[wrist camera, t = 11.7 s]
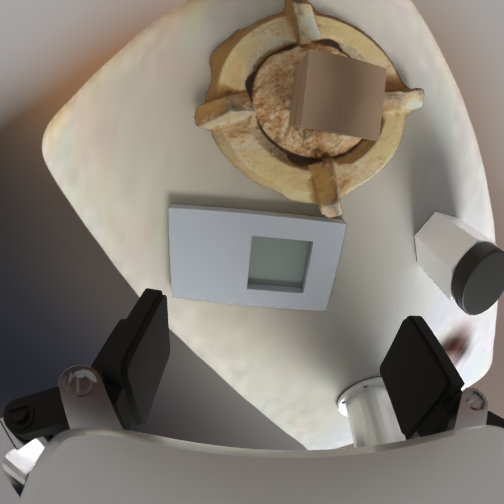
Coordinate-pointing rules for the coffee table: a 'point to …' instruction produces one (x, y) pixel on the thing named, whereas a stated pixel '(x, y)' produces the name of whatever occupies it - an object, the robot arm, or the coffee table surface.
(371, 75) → the block
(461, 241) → the jar
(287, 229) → the pocket board
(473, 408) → the robot arm
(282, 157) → the ashtray
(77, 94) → the coffee table surface
